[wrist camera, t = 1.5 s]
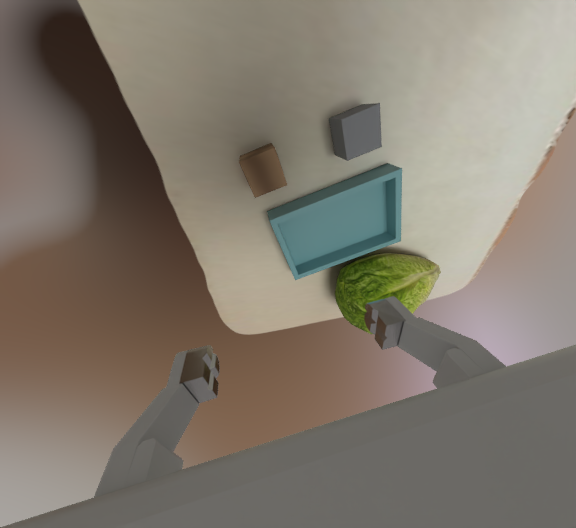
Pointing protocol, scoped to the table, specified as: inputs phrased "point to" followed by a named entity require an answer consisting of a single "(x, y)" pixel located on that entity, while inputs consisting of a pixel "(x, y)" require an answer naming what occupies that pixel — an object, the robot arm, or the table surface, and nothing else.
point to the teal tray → (340, 221)
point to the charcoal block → (356, 131)
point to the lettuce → (384, 283)
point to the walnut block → (262, 170)
